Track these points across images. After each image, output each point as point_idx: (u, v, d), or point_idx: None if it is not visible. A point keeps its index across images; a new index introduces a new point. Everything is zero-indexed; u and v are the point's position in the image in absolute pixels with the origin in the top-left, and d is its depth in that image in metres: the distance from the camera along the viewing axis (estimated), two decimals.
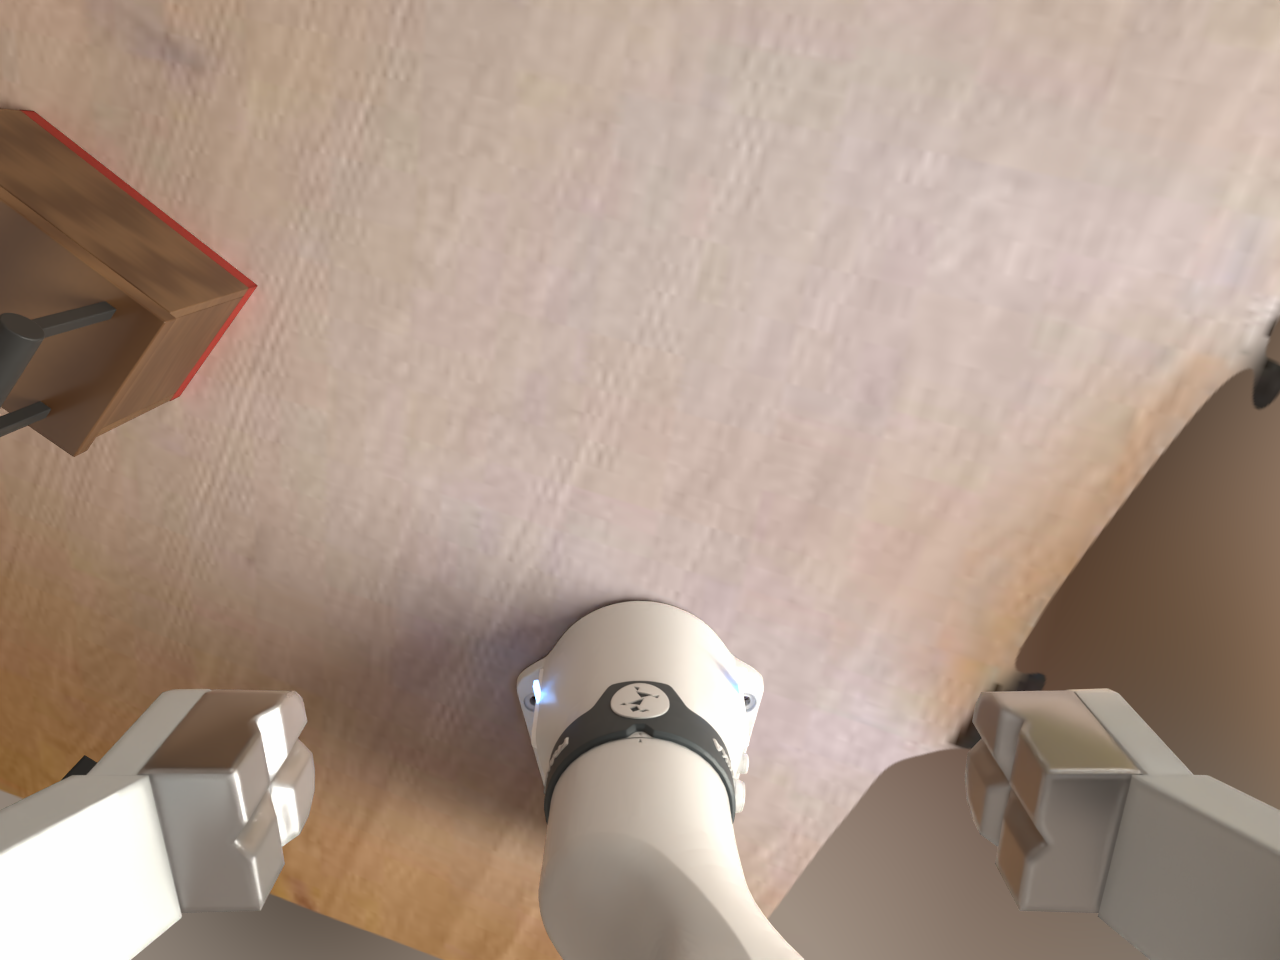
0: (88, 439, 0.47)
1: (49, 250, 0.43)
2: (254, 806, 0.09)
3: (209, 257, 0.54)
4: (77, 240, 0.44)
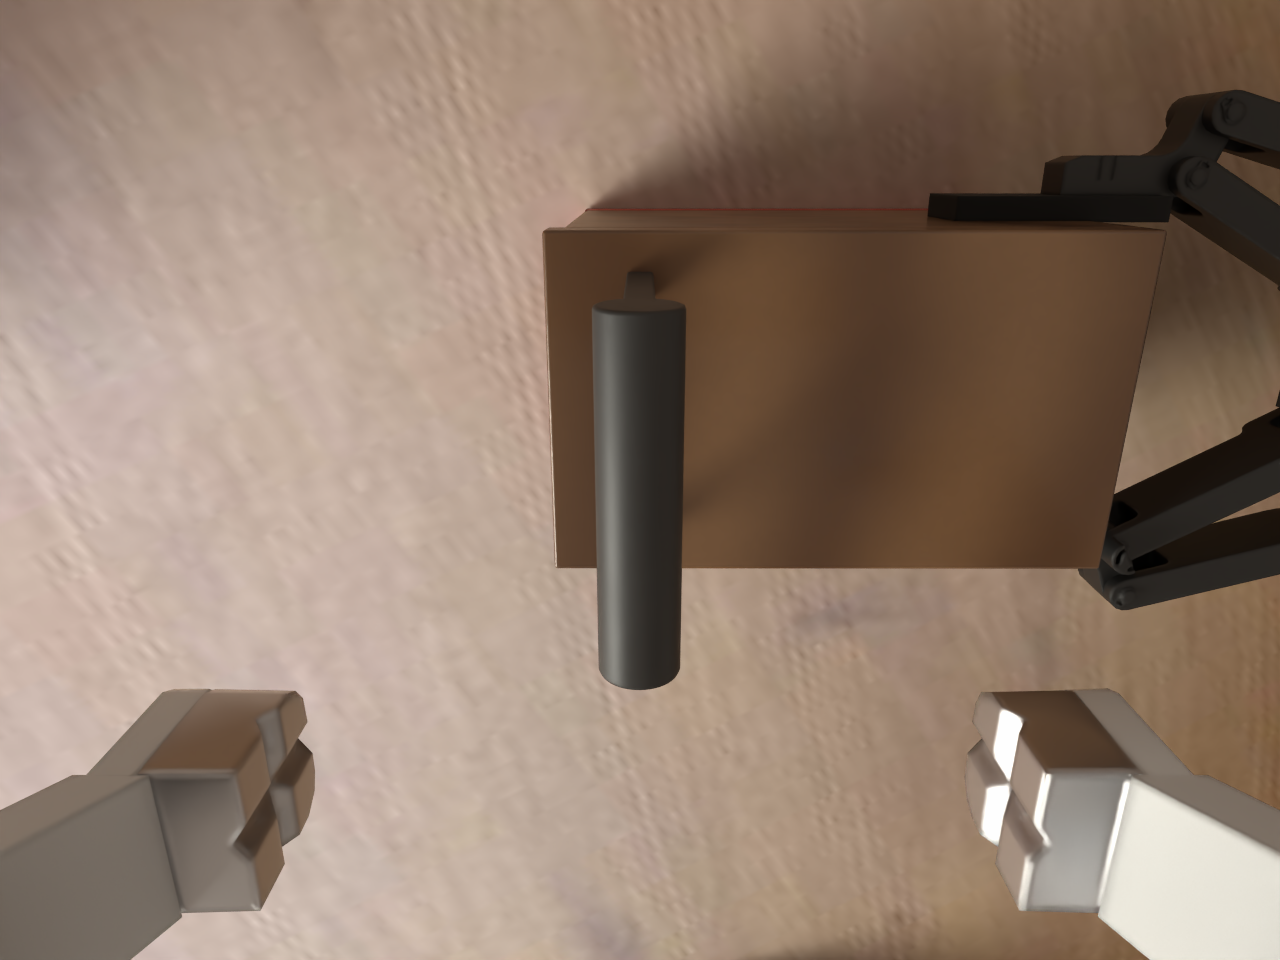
0: None
1: (764, 549, 0.26)
2: (254, 806, 0.09)
3: None
4: None
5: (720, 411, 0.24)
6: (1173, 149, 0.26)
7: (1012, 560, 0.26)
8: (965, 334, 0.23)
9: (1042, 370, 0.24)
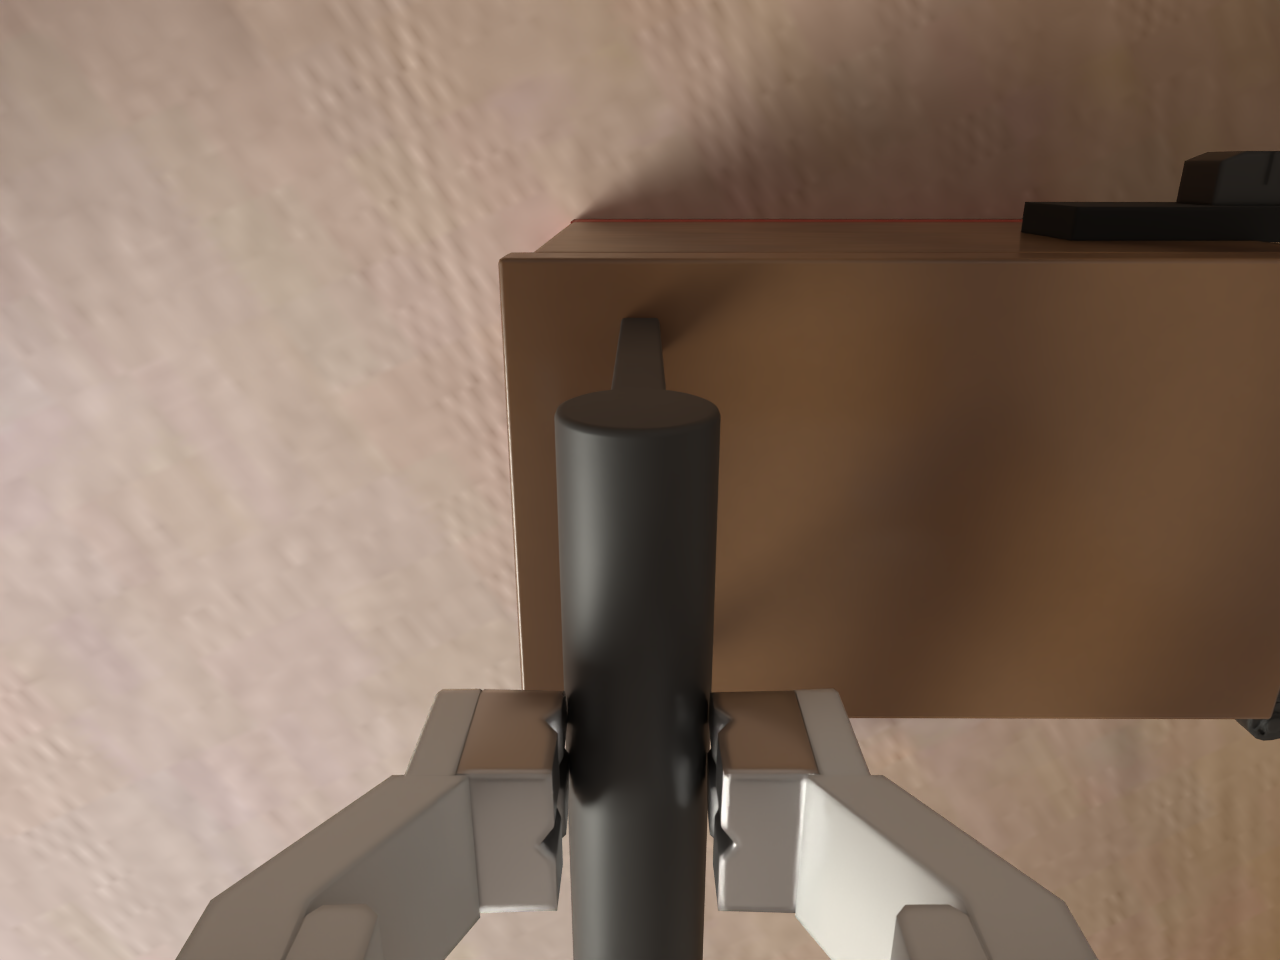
0: None
1: None
2: (555, 806, 0.09)
3: None
4: None
5: (753, 511, 0.17)
6: None
7: (1153, 708, 0.19)
8: (1105, 406, 0.16)
9: (1212, 455, 0.17)
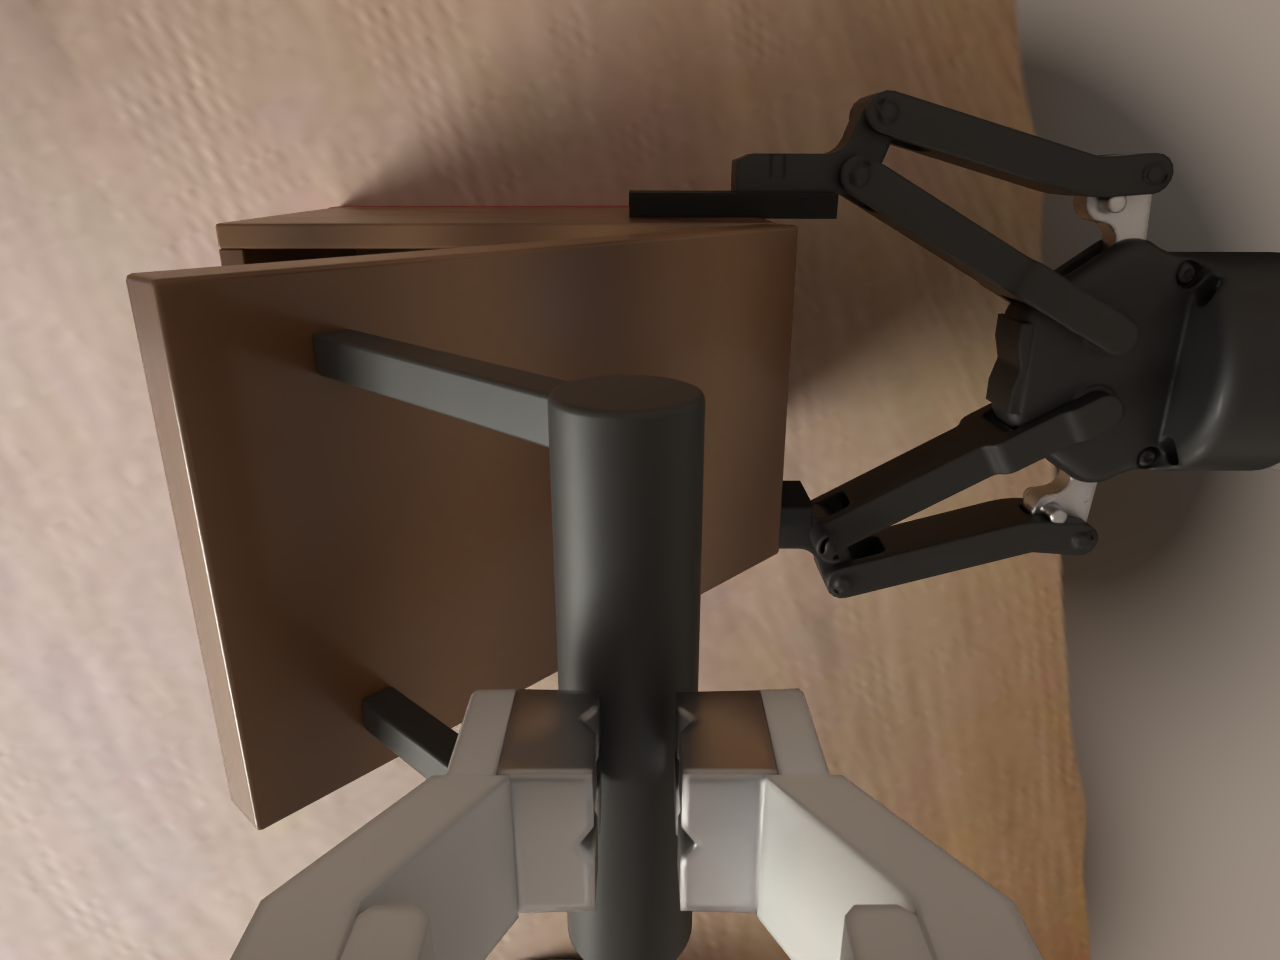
0: (161, 365, 0.13)
1: (526, 664, 0.20)
2: (594, 806, 0.09)
3: None
4: None
5: (460, 509, 0.17)
6: (842, 148, 0.27)
7: (727, 572, 0.25)
8: (678, 351, 0.21)
9: (733, 376, 0.23)
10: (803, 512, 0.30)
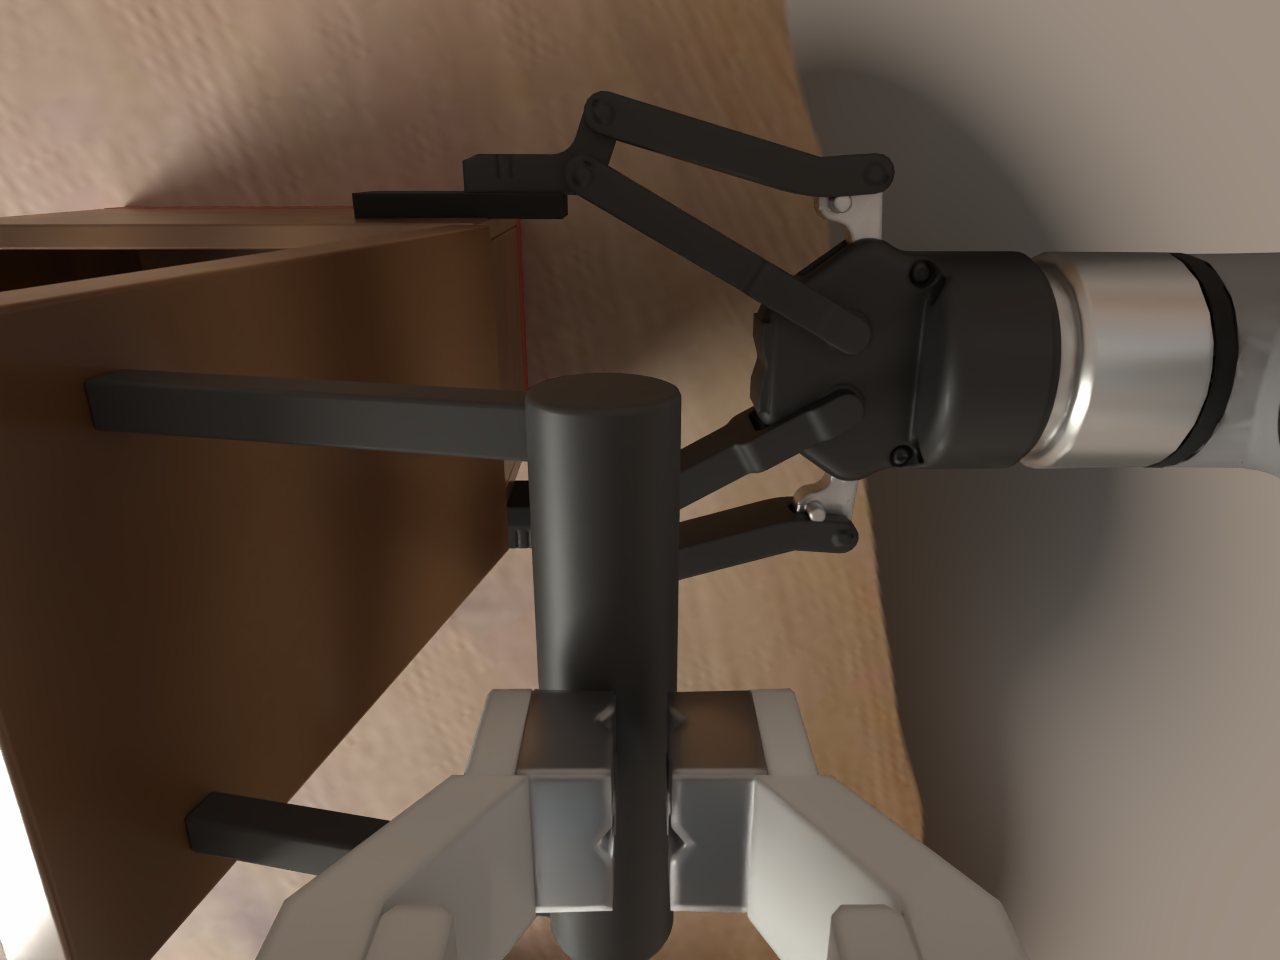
0: None
1: (332, 722, 0.17)
2: (612, 806, 0.09)
3: None
4: None
5: (255, 564, 0.15)
6: (568, 148, 0.27)
7: (476, 578, 0.24)
8: (418, 359, 0.20)
9: (461, 379, 0.22)
10: None
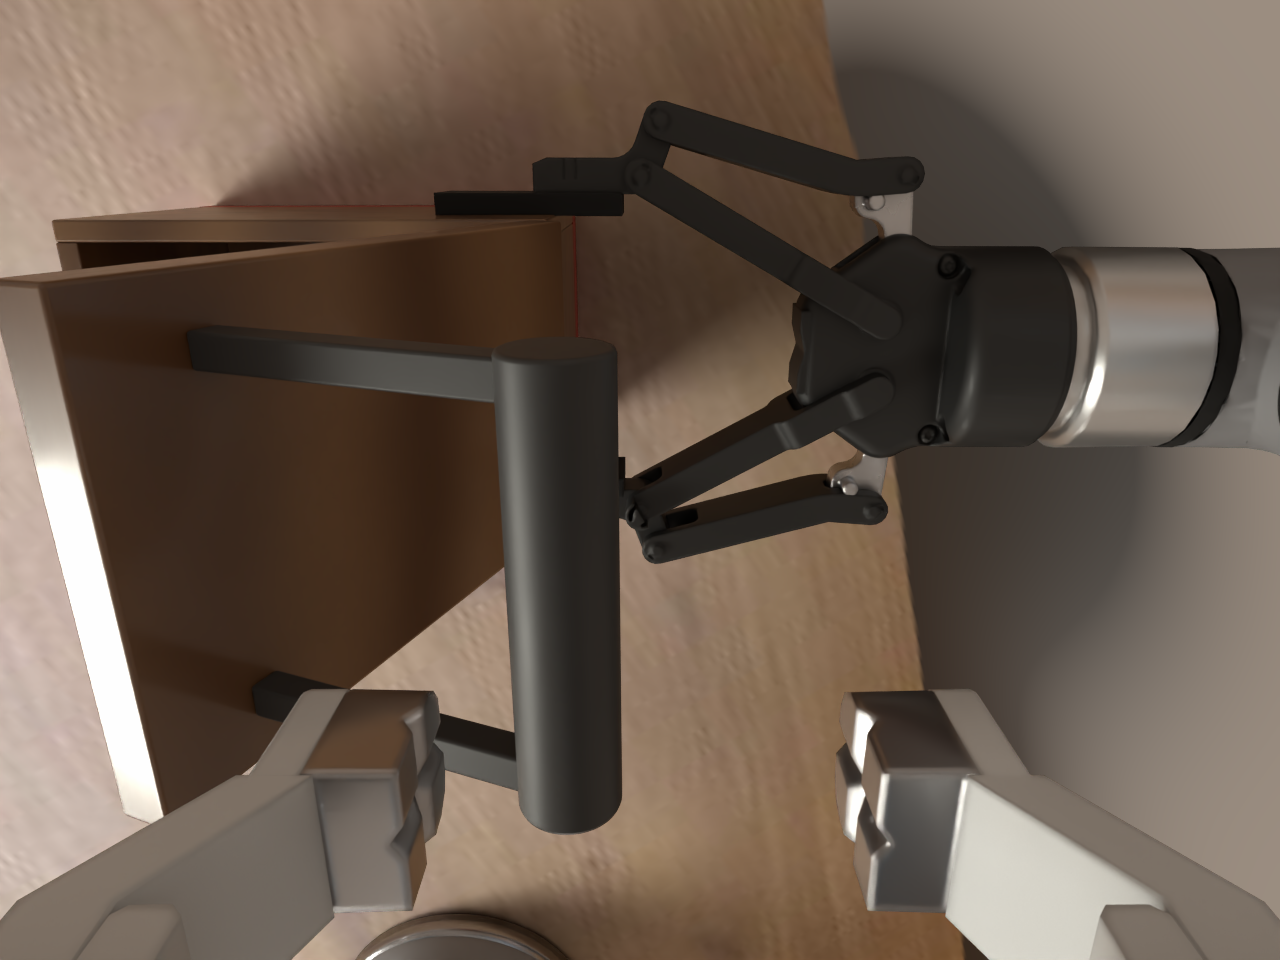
0: (46, 369, 0.13)
1: (385, 636, 0.21)
2: (408, 806, 0.09)
3: None
4: None
5: (321, 492, 0.18)
6: (627, 152, 0.30)
7: None
8: (482, 336, 0.23)
9: None
10: None
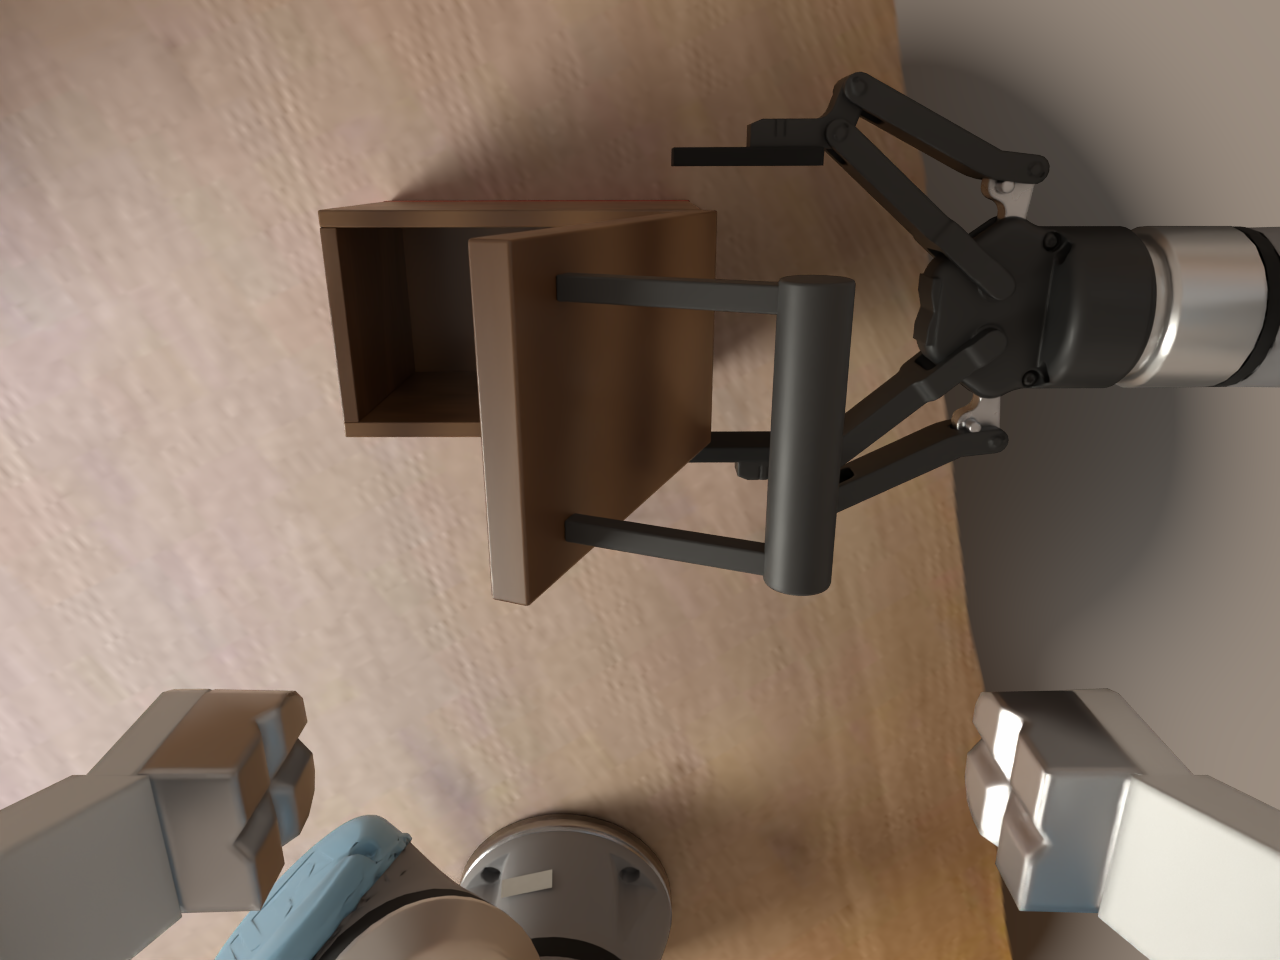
0: (501, 293, 0.21)
1: (619, 507, 0.29)
2: (254, 806, 0.09)
3: None
4: (470, 435, 0.39)
5: (599, 394, 0.26)
6: (827, 114, 0.37)
7: (691, 453, 0.35)
8: None
9: (694, 313, 0.33)
10: None
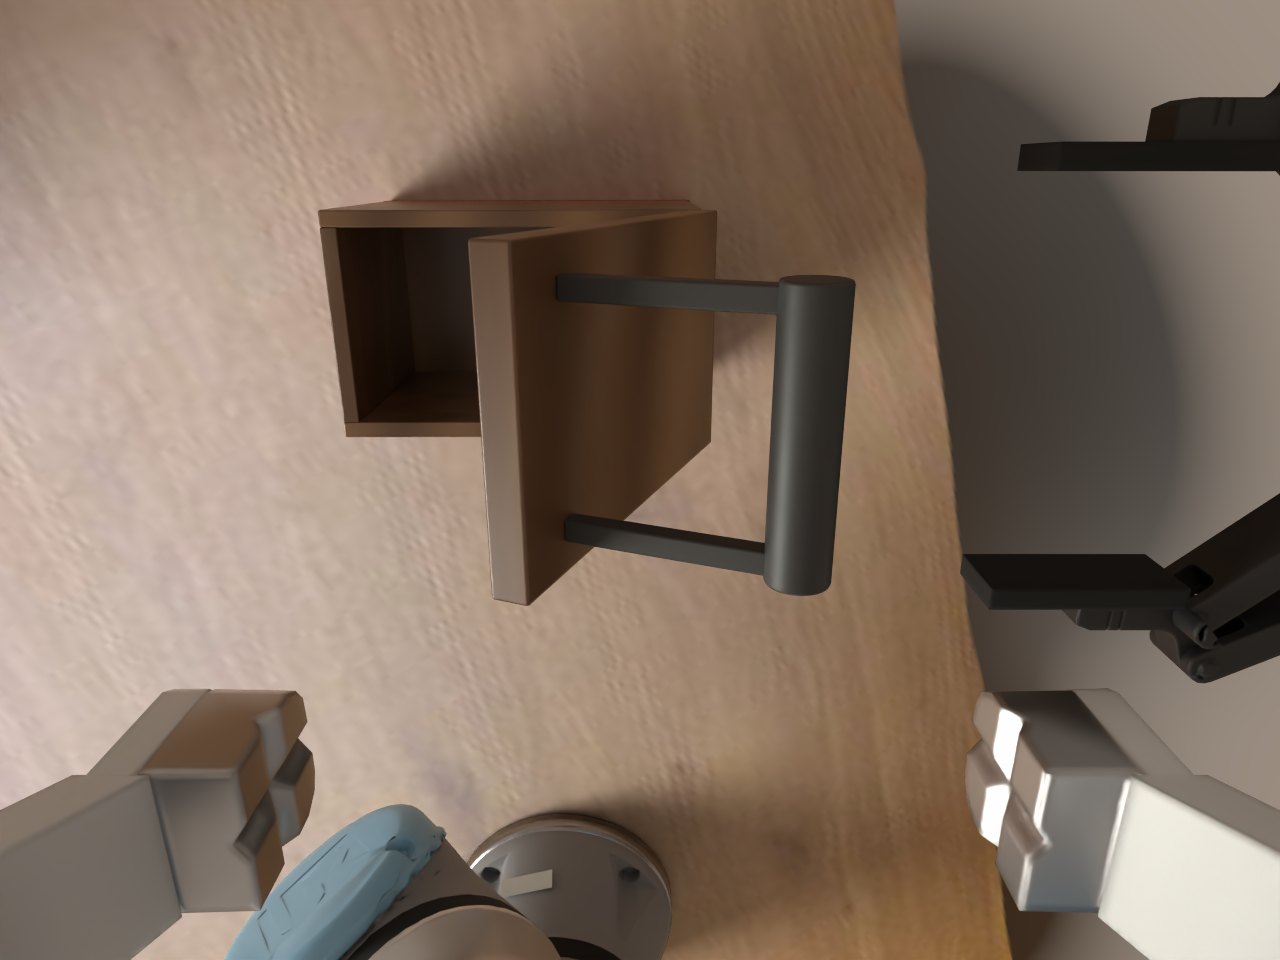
0: (502, 293, 0.21)
1: (619, 507, 0.29)
2: (254, 806, 0.09)
3: None
4: (470, 435, 0.39)
5: (599, 394, 0.26)
6: None
7: (691, 453, 0.35)
8: None
9: (694, 312, 0.33)
10: (1178, 594, 0.28)
